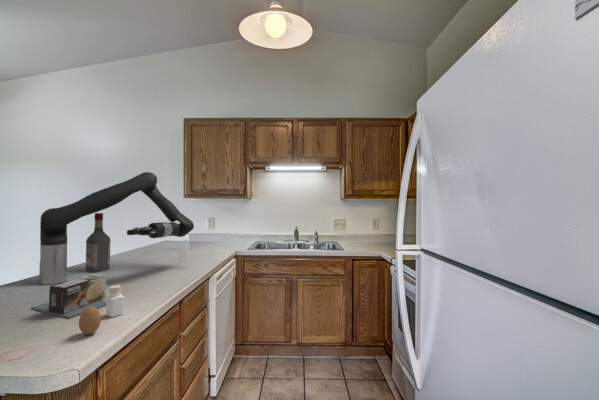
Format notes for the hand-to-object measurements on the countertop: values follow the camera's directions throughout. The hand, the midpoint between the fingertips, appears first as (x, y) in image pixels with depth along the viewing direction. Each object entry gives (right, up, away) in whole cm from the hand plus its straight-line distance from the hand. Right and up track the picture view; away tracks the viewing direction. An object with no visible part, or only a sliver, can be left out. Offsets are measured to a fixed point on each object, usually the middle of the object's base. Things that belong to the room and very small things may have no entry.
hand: (128, 232), depth 127 cm
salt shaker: (+14, -24, -31) cm, 42 cm away
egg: (+15, -24, -44) cm, 53 cm away
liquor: (-30, -23, +24) cm, 45 cm away
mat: (-5, -23, -25) cm, 35 cm away
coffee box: (-1, -18, -17) cm, 25 cm away
